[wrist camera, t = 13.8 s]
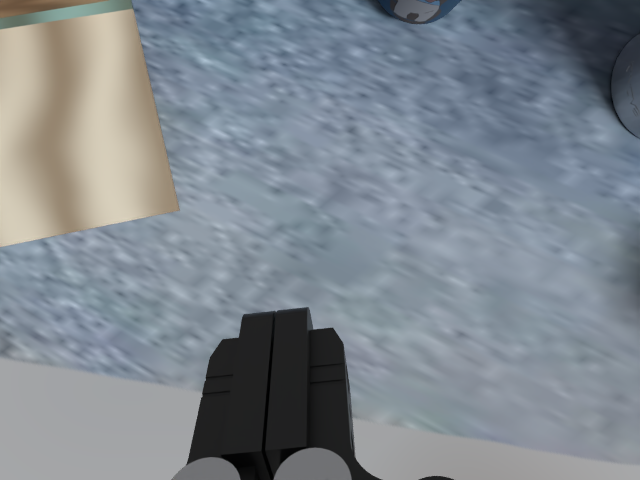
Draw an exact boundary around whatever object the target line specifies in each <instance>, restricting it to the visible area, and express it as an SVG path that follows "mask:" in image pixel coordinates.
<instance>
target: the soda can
mask: <svg viewBox="0 0 640 480" xmlns="http://www.w3.org/2000/svg"><path fill="white" fill-rule="evenodd" d="M378 1H379V3H380V4H381V5H382V7H383V8H384V9H385V10H386V11H387V12H388V13H389V14H391V15H392V16H394V17H395V18H397V19H399V20H401V21H404V22H407V23H411V24H426V23H431V22H434V21H436V20H438V19H440V18H442V17H444V16H445V15H446V14H448V13H449V12H450V11H451V10H452V9H453V8H454V7H455V6H456V5H457V4H458V3H459V2H460V1H461V0H378Z"/></svg>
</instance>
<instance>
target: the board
mask: <svg viewBox="0 0 640 480" xmlns="http://www.w3.org/2000/svg"><path fill="white" fill-rule="evenodd" d="M179 210H180V209H179V205H178V200H177V196H176V192H175V187H174V183H173V179H172V174H171V170H170V166H169V161H168V157H167V153H166V148H165V144H164V140H163V135H162V131H161V127H160V122H159V118H158V114H157V109H156V105H155V101H154V96H153V92H152V88H151V83H150V79H149V75H148V70H147V66H146V62H145V57H144V53H143V49H142V44H141V40H140V36H139V31H138V27H137V23H136V19H135V14H134V10H133V6H132V1H131V0H109V1H103V2H97V3H91V4H85V5H79V6H72V7H66V8H60V9H54V10H48V11H42V12H35V13H29V14H23V15H17V16H11V17H5V18H0V247H3V246H7V245H12V244H17V243H22V242H27V241H32V240H37V239H42V238H47V237H52V236H56V235H61V234H66V233H71V232H76V231H81V230H86V229H91V228H96V227H101V226H105V225H110V224H115V223H120V222H125V221H130V220H135V219H140V218H145V217H149V216H154V215H159V214H164V213H169V212H174V211H179Z"/></svg>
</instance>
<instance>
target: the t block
mask: <svg viewBox="0 0 640 480" xmlns="http://www.w3.org/2000/svg"><path fill="white" fill-rule="evenodd" d="M103 1H109V0H0V18H5V17H11V16H17V15H23V14H29V13H35V12H42V11H48V10H54V9H60V8H66V7H72V6H79V5H85V4H91V3H97V2H103Z"/></svg>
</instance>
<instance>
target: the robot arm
mask: <svg viewBox="0 0 640 480" xmlns="http://www.w3.org/2000/svg"><path fill="white" fill-rule="evenodd" d="M611 91H612V99H613V103H614V107H615V110H616V112H617V114H618V116H619V118H620V120H621V121H622V122H623V124H624V125H625V126H626V128H627V129H628V130H629V131H631V132H632V133H633V134H634V135H635V136H637V137H639V138H640V34H638V35H637V36H635V37H634V38H633V39H631V40H630V41H629V43H628V44H627V45H626V46H625V47H624V48H623V50H622V51H621V53H620V55H619V56H618V58H617V60H616V63H615V66H614V69H613V74H612V81H611ZM202 394H203V397H202V398H201V402H200V407H199V411H198V416H197V421H196V426H195V430H194V435H193V440H192V444H191V449H190V453H189V458H188V462H187V464H186V466H185V467H184V468H182V469H181V470H180V471H179V472H178V473H177V474H176V475H175V476H174V477H173V479H172V480H381V479H379V478H377V477H375V476H373V475H371V474H370V473H368V472H367V471H366V470H365V469H363V468H362V467H361V465H360V464H359V463H358V462H357V460H356V458H355V447H354V435H353V422H352V410H351V396H350V386H349V379H348V372H347V365H346V358H345V351H344V344H343V342H342V341H341V339H340V338H339V336H338V335H337V333H336V332H335V330H334V329H333V328H325V329H315V330H313V325H312V320H311V314H310V310H309V307H306V308H296V309H287V310H278V311H277V312H276V311H270V312H261V313H252V314H244V315H243V317H242V322H241V328H240V334H239V338H232V339H223V340H222V341H221V342H220V344H219V345H218V347H217V348H216V350H215V351H214V352H213V354H212V355H211V357H210V360H209V364H208V369H207V374H206V381H205V383H204V388H203V392H202ZM419 480H454V479H451V478H447V477H442V476H431V477H425V478H422V479H419Z"/></svg>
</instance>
